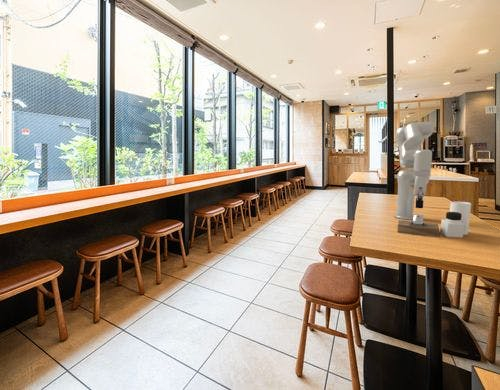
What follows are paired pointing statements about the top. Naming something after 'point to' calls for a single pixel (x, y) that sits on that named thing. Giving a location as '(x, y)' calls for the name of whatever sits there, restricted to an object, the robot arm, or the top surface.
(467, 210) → the cup
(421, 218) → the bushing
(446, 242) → the top surface
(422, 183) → the robot arm
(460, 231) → the medicine bottle
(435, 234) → the block
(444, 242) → the top surface
